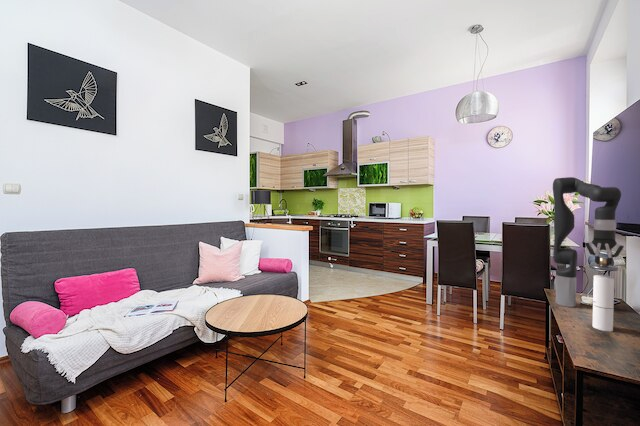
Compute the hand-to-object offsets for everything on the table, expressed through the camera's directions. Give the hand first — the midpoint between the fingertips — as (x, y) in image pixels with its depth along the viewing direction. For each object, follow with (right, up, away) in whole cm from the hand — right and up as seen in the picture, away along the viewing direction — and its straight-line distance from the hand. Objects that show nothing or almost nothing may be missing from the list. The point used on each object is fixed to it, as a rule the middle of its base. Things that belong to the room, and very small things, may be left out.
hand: (603, 264), depth 140 cm
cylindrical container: (0, -31, +1) cm, 31 cm away
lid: (0, -2, 0) cm, 2 cm away
